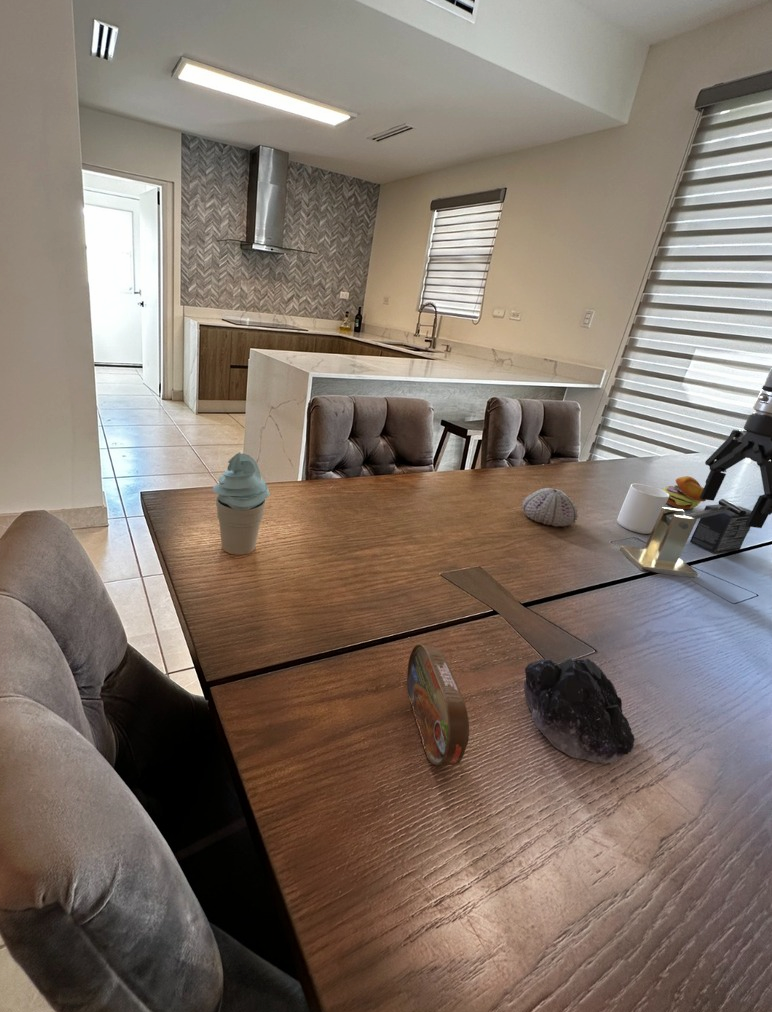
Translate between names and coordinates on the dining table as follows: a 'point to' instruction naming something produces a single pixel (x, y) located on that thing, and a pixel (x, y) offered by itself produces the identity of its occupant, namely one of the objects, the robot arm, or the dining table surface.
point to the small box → (721, 531)
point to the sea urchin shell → (550, 507)
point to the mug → (642, 508)
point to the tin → (437, 705)
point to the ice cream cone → (240, 504)
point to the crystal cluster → (578, 709)
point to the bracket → (665, 546)
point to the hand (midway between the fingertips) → (728, 512)
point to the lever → (711, 511)
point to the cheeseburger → (684, 493)
